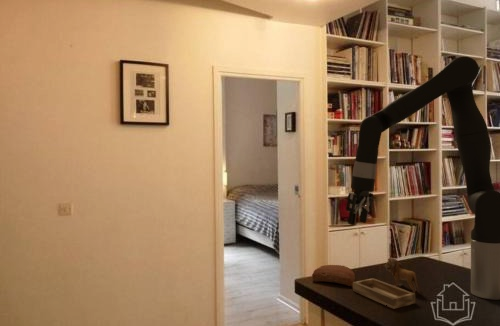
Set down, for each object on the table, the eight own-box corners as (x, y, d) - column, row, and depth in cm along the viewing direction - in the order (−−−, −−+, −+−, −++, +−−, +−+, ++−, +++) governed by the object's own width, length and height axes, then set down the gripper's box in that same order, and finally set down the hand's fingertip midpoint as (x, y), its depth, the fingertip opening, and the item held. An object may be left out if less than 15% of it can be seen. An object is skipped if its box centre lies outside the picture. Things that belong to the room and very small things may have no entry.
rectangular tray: (373, 286, 131) (373, 278, 131) (415, 303, 116) (415, 293, 116) (352, 290, 127) (352, 282, 127) (393, 308, 112) (393, 299, 112)
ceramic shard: (362, 262, 143) (354, 279, 129) (360, 278, 144) (352, 297, 131) (323, 252, 149) (311, 268, 135) (321, 268, 150) (310, 285, 137)
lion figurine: (382, 283, 133) (382, 257, 133) (393, 281, 136) (393, 255, 136) (418, 297, 120) (418, 268, 120) (429, 294, 123) (429, 266, 123)
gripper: (364, 177, 123) (357, 227, 124) (383, 177, 133) (376, 224, 134) (343, 174, 128) (336, 222, 129) (362, 174, 138) (356, 219, 139)
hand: (357, 223), depth 132 cm, fingers open, 8 cm apart
